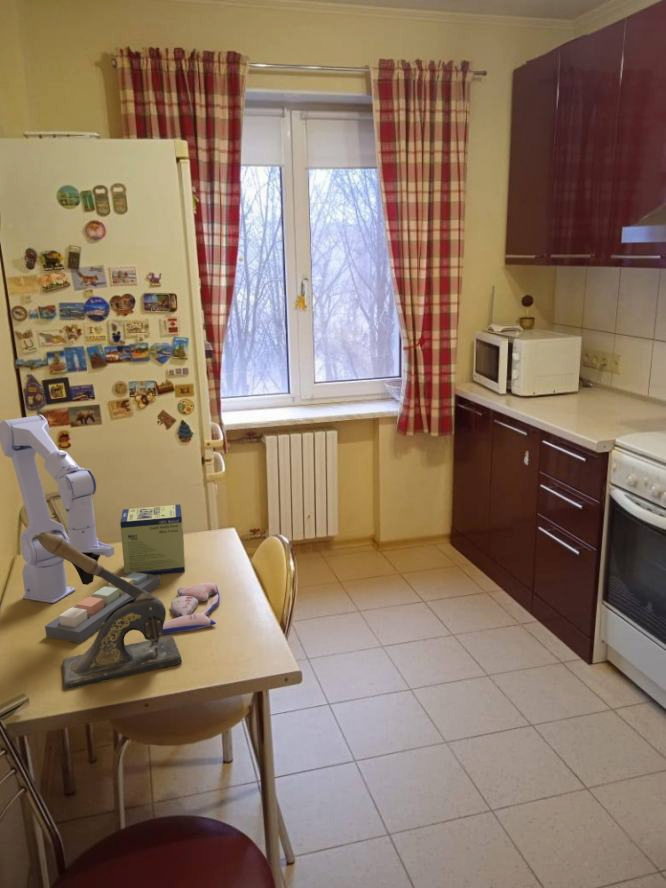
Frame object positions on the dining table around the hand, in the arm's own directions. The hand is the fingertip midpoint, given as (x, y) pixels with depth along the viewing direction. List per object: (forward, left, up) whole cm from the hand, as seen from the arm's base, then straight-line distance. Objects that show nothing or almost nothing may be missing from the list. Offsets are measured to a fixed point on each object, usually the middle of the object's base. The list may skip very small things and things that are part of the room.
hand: (87, 582), depth 156 cm
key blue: (0, +17, -9) cm, 19 cm away
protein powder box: (-3, +30, -9) cm, 31 cm away
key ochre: (0, +11, -8) cm, 14 cm away
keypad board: (0, +6, -9) cm, 11 cm away
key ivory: (0, -6, -8) cm, 9 cm away
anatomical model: (+19, +11, -10) cm, 24 cm away
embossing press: (+18, -14, -9) cm, 24 cm away
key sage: (0, +6, -8) cm, 9 cm away
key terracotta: (0, 0, -8) cm, 8 cm away
